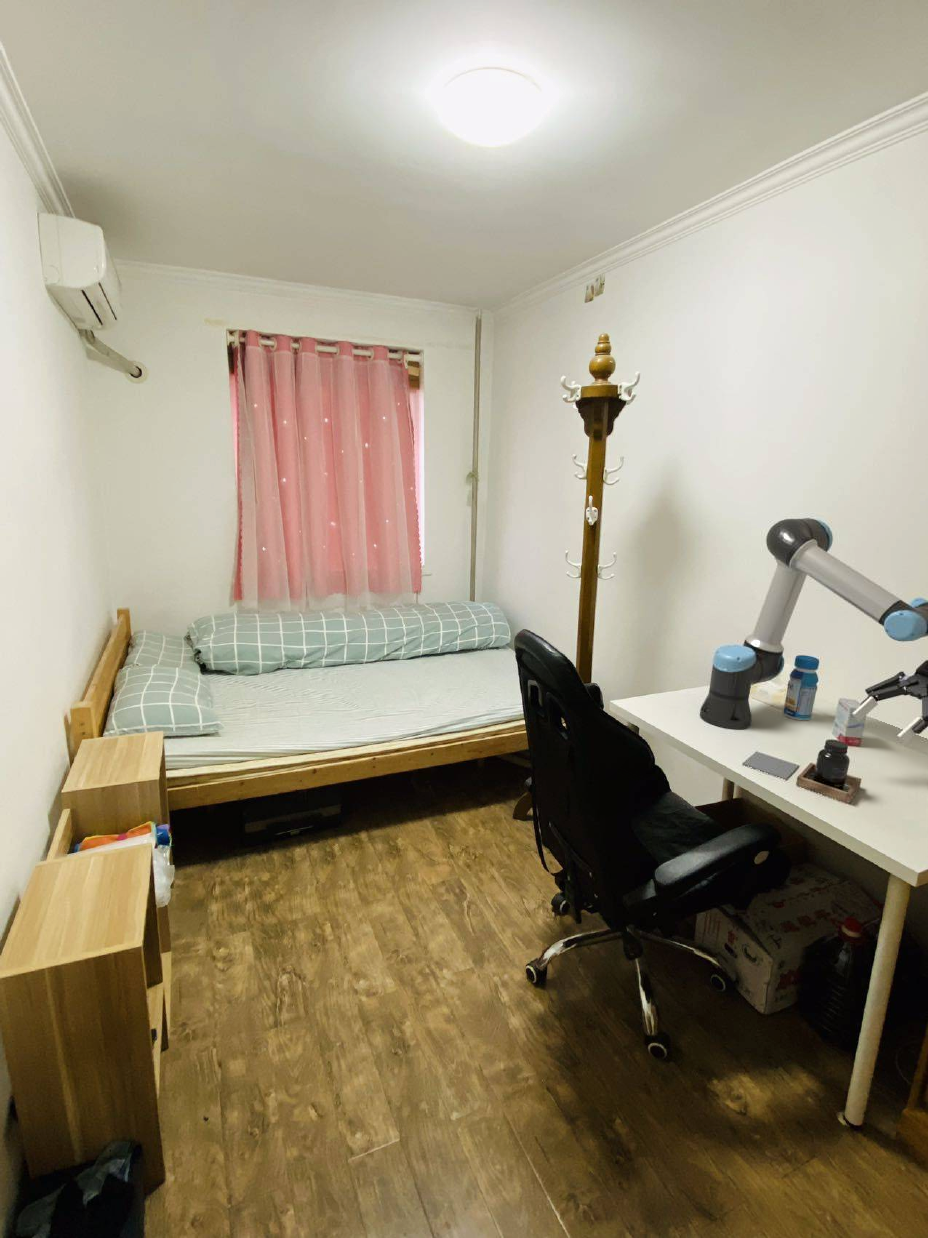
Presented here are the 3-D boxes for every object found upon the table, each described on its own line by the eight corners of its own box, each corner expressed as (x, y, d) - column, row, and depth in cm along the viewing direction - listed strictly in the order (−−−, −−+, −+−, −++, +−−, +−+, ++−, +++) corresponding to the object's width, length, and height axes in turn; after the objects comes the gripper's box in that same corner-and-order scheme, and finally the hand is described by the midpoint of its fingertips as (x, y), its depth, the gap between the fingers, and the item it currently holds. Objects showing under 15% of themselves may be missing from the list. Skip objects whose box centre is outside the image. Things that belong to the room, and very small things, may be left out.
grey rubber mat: (741, 764, 162) (742, 763, 162) (756, 752, 170) (756, 751, 169) (785, 780, 154) (786, 778, 154) (798, 766, 162) (799, 765, 162)
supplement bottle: (806, 780, 155) (814, 737, 152) (831, 780, 156) (840, 737, 153) (824, 794, 148) (833, 749, 145) (850, 794, 149) (859, 749, 146)
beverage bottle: (808, 723, 192) (820, 663, 187) (779, 716, 197) (790, 657, 192) (813, 716, 198) (824, 658, 194) (785, 709, 204) (795, 652, 199)
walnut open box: (795, 785, 152) (797, 776, 151) (809, 771, 160) (810, 762, 159) (848, 804, 144) (850, 794, 143) (859, 787, 152) (861, 778, 152)
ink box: (860, 747, 176) (868, 709, 173) (842, 745, 177) (850, 707, 174) (848, 735, 184) (856, 699, 182) (831, 733, 185) (838, 697, 183)
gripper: (999, 697, 138) (929, 760, 139) (904, 664, 162) (845, 718, 163) (985, 675, 136) (915, 740, 137) (891, 645, 160) (832, 700, 161)
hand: (877, 728), depth 150 cm, fingers open, 13 cm apart
